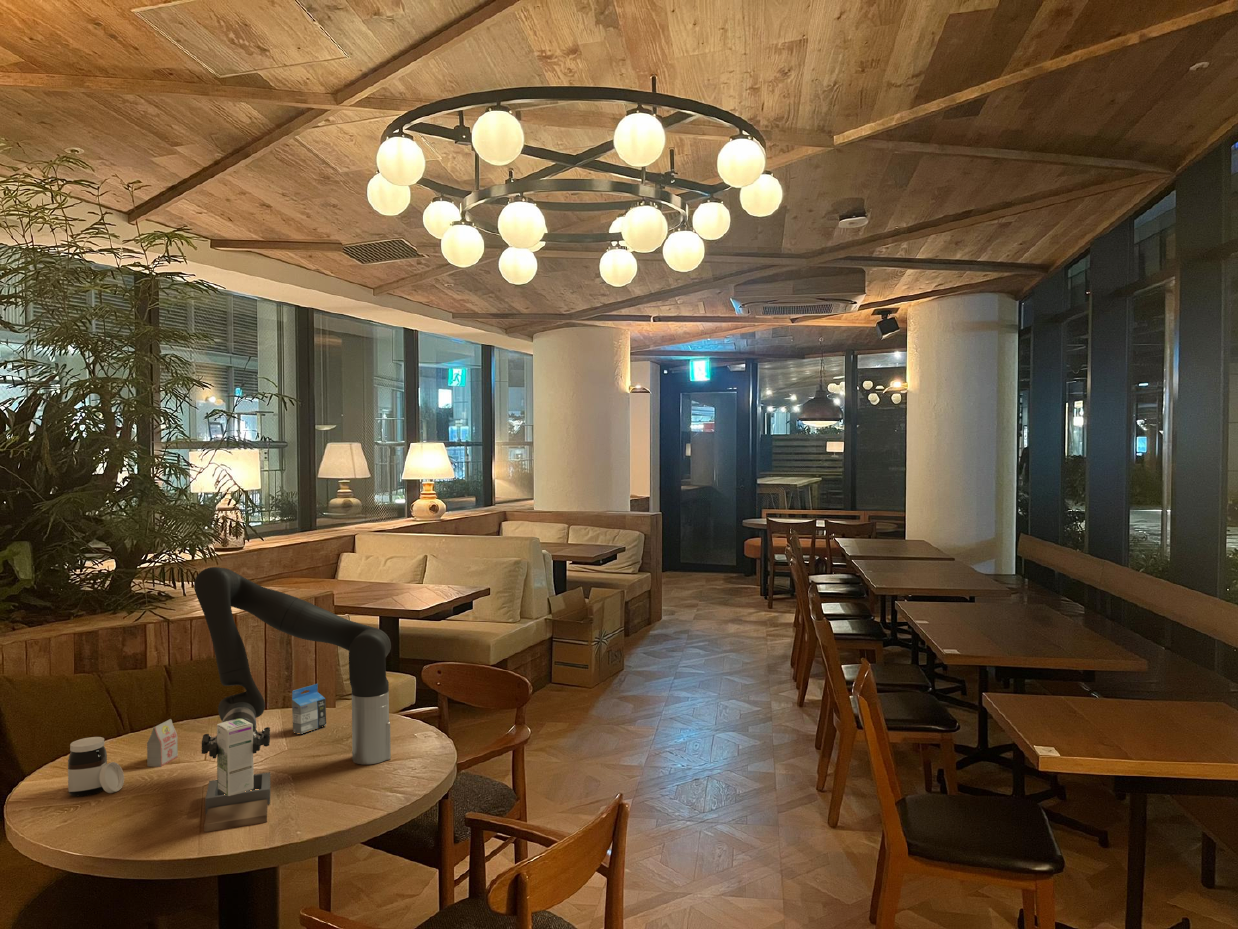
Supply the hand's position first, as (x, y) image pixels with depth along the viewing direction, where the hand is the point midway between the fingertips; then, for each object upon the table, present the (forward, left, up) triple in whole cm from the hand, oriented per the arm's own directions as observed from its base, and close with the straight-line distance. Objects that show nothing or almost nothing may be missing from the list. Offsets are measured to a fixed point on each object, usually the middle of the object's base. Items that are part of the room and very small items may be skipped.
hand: (234, 751), depth 175 cm
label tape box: (-17, -59, -16) cm, 63 cm away
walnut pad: (0, -2, -15) cm, 15 cm away
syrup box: (0, -2, -9) cm, 9 cm away
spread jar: (+31, -33, -16) cm, 48 cm away
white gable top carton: (+19, -48, -16) cm, 54 cm away
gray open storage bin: (0, -13, -15) cm, 20 cm away
